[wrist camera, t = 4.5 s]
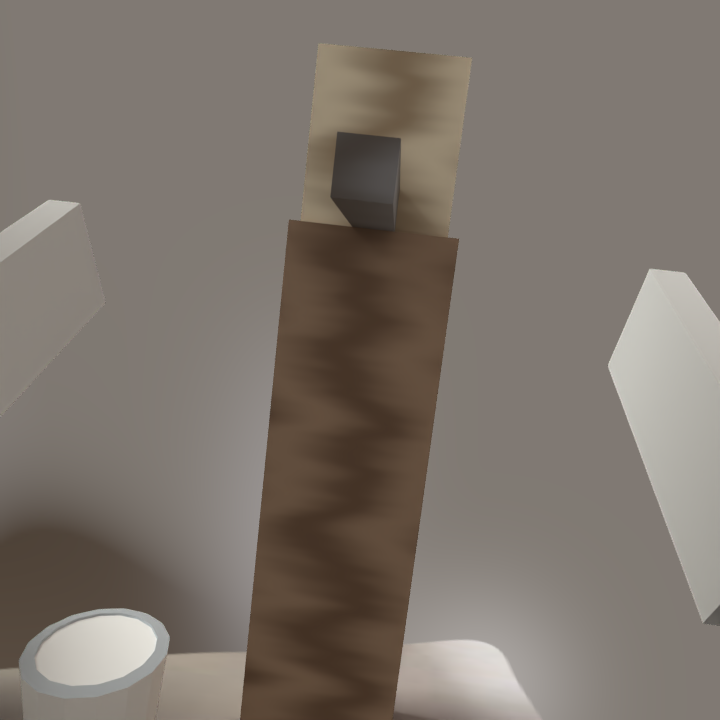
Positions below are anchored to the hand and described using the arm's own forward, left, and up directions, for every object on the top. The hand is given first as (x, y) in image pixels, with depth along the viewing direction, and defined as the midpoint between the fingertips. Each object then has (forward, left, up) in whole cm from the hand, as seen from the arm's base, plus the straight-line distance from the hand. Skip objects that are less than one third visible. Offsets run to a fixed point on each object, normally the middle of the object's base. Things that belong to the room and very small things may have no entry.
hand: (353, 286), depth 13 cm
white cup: (-12, +12, -27) cm, 31 cm away
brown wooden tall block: (0, +16, -26) cm, 31 cm away
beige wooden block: (0, +12, +3) cm, 12 cm away
